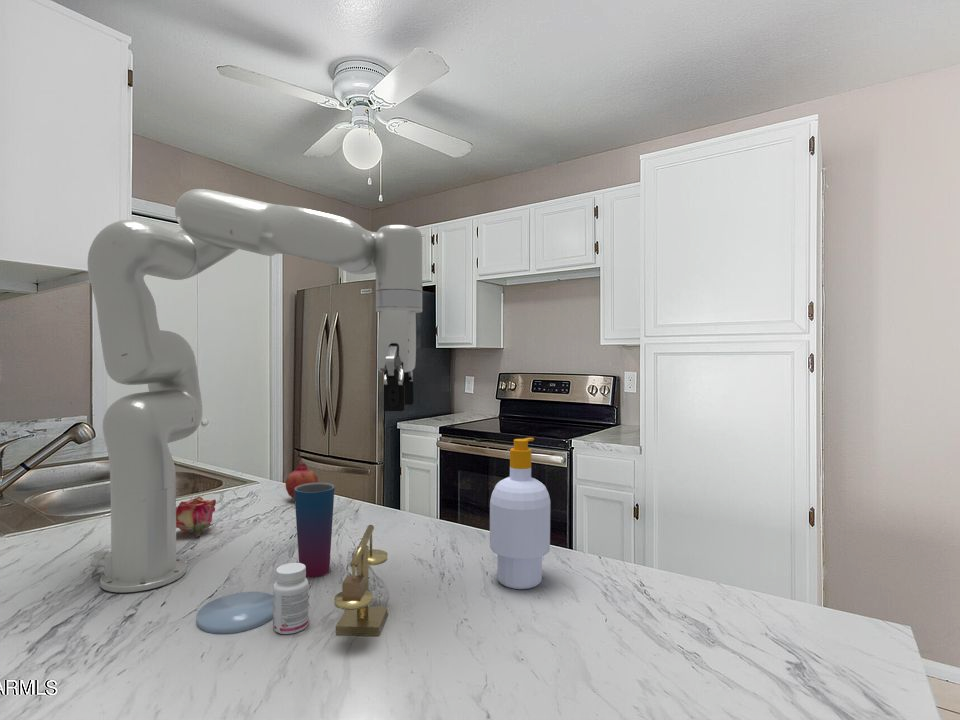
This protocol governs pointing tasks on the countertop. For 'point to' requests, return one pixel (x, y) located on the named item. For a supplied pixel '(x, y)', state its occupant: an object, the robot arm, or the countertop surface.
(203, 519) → the flower
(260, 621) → the saucer
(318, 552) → the cup
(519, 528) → the soap bottle
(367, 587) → the balance
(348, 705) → the countertop surface
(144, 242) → the robot arm
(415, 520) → the countertop surface
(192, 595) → the countertop surface
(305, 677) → the countertop surface
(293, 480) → the fruit
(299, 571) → the pill bottle
